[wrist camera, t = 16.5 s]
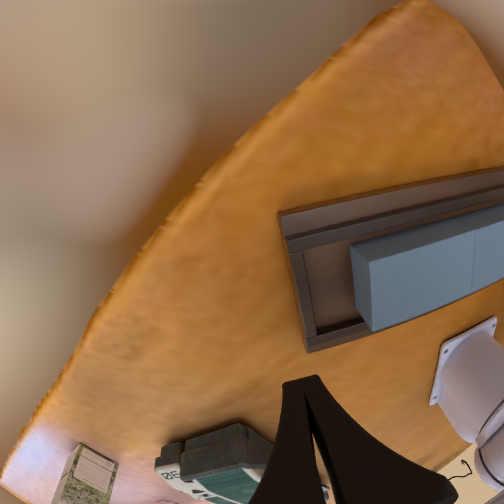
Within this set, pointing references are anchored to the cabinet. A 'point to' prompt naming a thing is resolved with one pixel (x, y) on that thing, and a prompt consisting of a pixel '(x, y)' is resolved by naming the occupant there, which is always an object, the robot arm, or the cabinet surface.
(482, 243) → the blue-grey rectangular block
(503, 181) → the dark brown wooden tray
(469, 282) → the loose pad
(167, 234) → the cabinet surface
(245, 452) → the communication device
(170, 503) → the smoothie
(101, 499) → the syrup box
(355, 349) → the cabinet surface
